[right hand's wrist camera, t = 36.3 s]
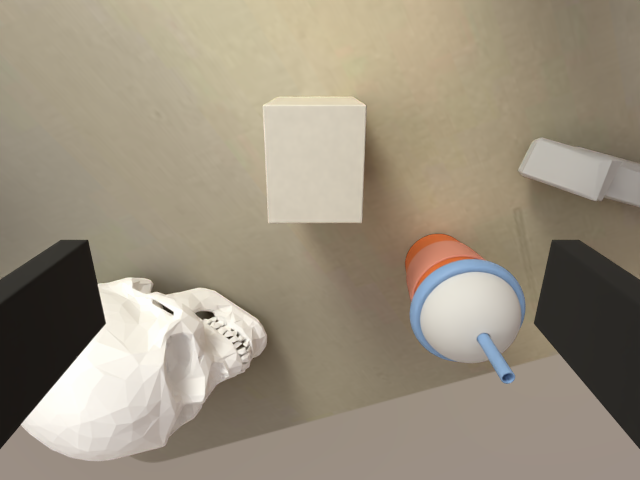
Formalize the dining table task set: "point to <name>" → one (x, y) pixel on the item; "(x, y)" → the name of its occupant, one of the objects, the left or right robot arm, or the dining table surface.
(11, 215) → the dining table surface
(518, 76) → the dining table surface
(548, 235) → the dining table surface
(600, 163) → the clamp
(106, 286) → the skull
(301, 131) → the block
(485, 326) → the cup with straw
